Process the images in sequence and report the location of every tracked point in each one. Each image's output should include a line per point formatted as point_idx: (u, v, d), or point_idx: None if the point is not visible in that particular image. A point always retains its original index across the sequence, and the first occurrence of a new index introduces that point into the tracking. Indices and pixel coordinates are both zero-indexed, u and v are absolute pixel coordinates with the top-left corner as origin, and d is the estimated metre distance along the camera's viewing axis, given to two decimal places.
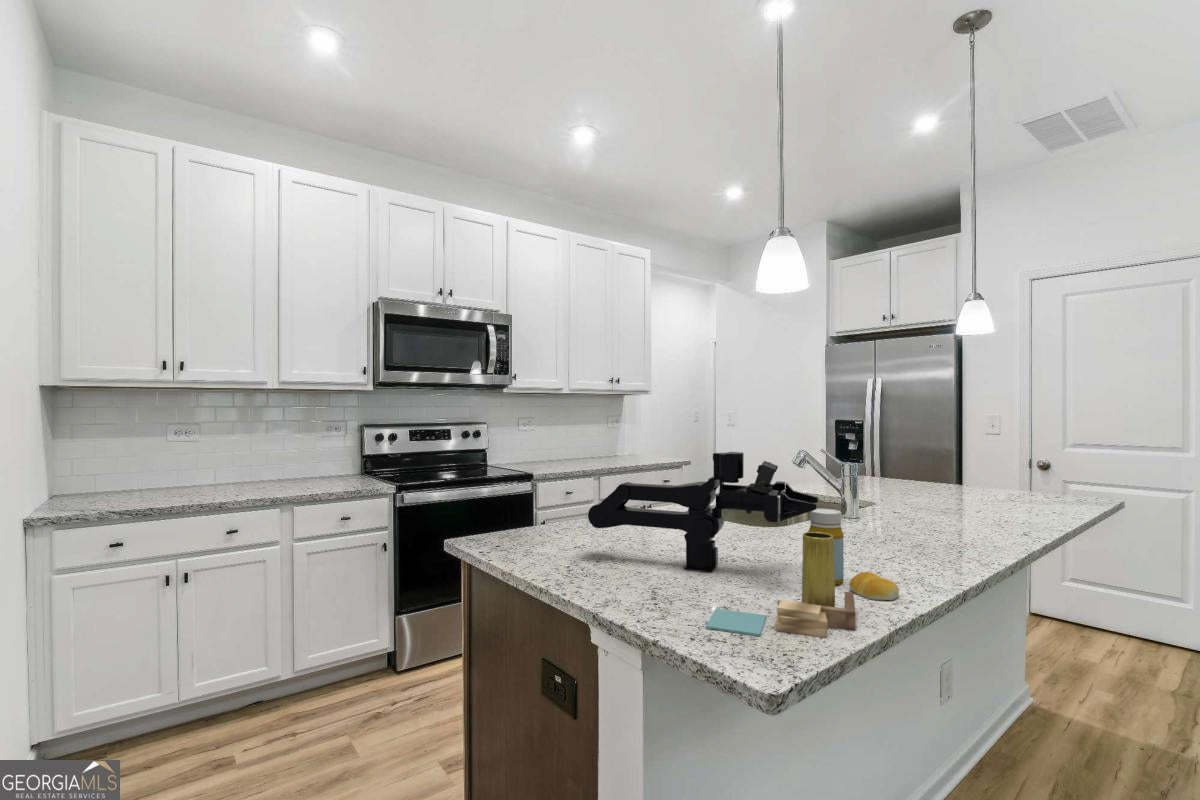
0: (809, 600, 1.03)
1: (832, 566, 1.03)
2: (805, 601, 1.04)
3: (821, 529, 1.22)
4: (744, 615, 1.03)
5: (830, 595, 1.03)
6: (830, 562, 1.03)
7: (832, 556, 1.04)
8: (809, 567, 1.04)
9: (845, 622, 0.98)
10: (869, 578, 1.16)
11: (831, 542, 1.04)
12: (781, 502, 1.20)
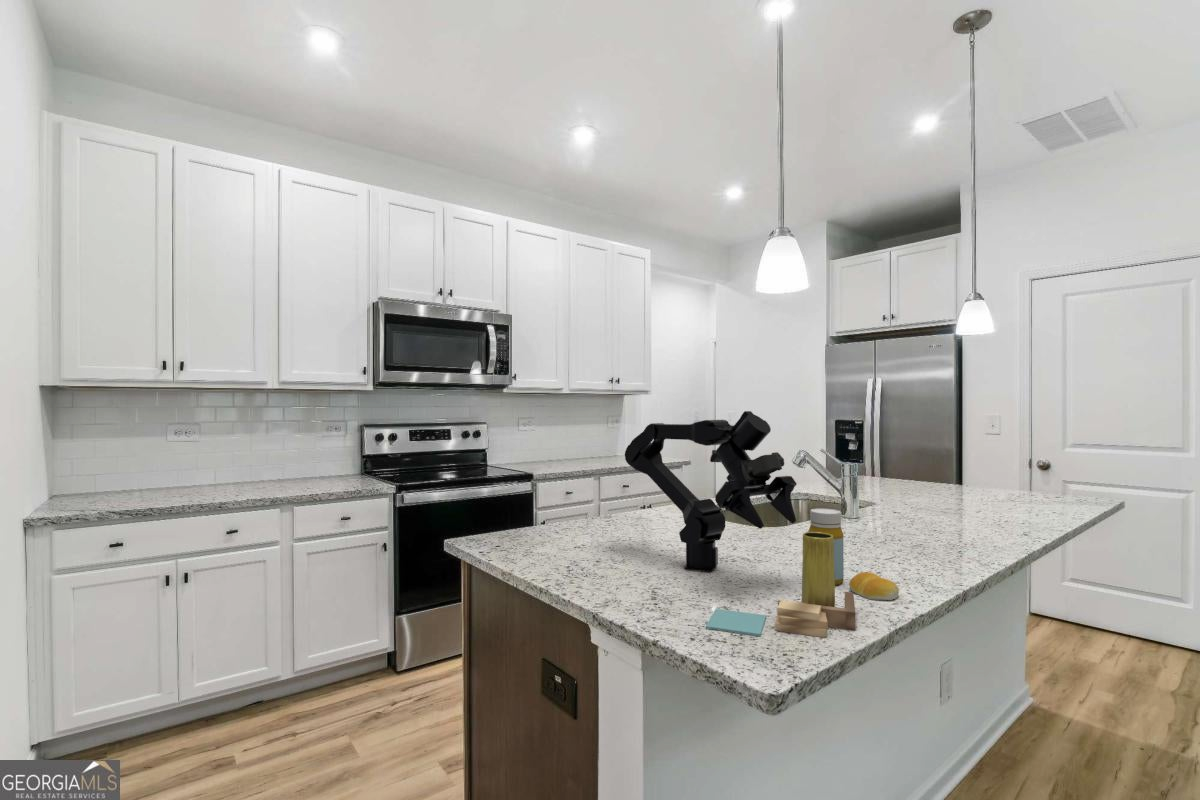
0: (809, 600, 1.03)
1: (832, 566, 1.03)
2: (805, 601, 1.04)
3: (821, 529, 1.22)
4: (744, 615, 1.03)
5: (830, 595, 1.03)
6: (830, 562, 1.03)
7: (832, 556, 1.04)
8: (809, 567, 1.04)
9: (845, 622, 0.98)
10: (869, 578, 1.16)
11: (831, 542, 1.04)
12: (734, 498, 1.15)
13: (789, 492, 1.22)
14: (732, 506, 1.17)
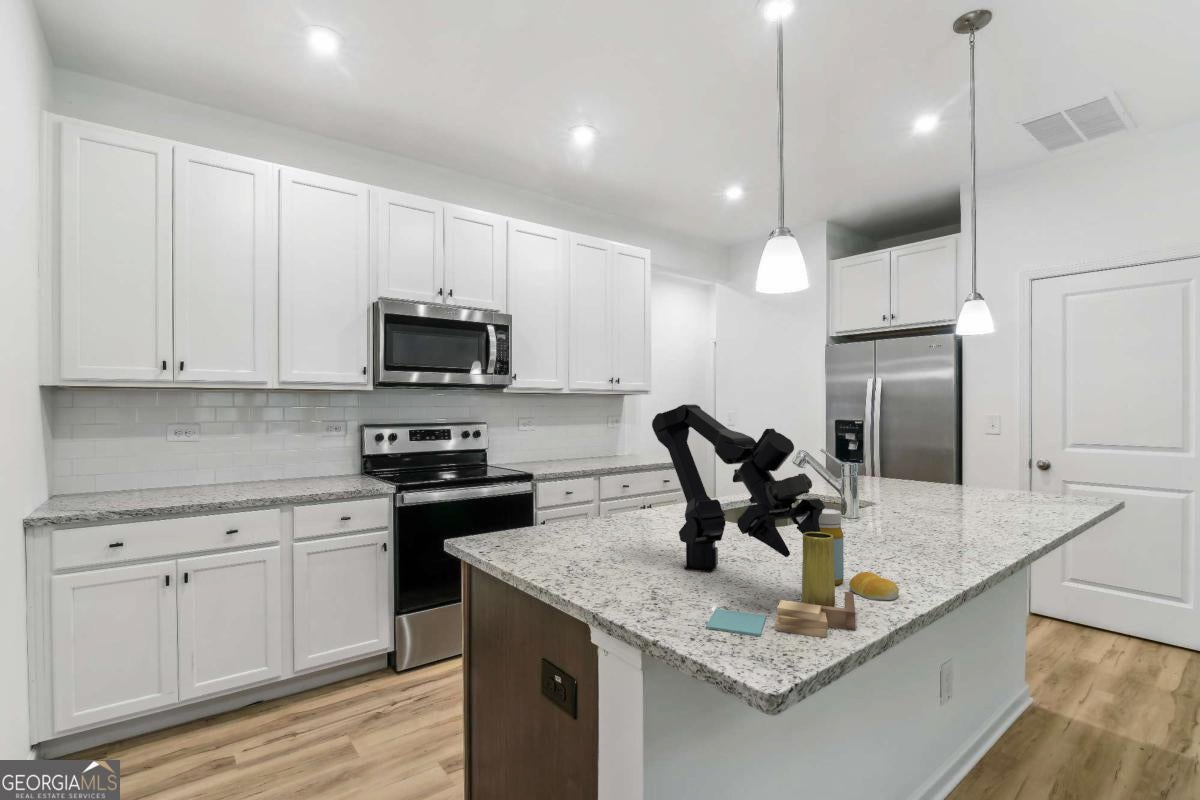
0: (809, 600, 1.03)
1: (832, 566, 1.03)
2: (805, 601, 1.04)
3: (821, 529, 1.22)
4: (744, 615, 1.03)
5: (830, 595, 1.03)
6: (830, 562, 1.03)
7: (832, 556, 1.04)
8: (809, 567, 1.04)
9: (845, 622, 0.98)
10: (869, 578, 1.16)
11: (831, 542, 1.04)
12: (758, 523, 1.07)
13: (817, 516, 1.13)
14: (756, 532, 1.09)
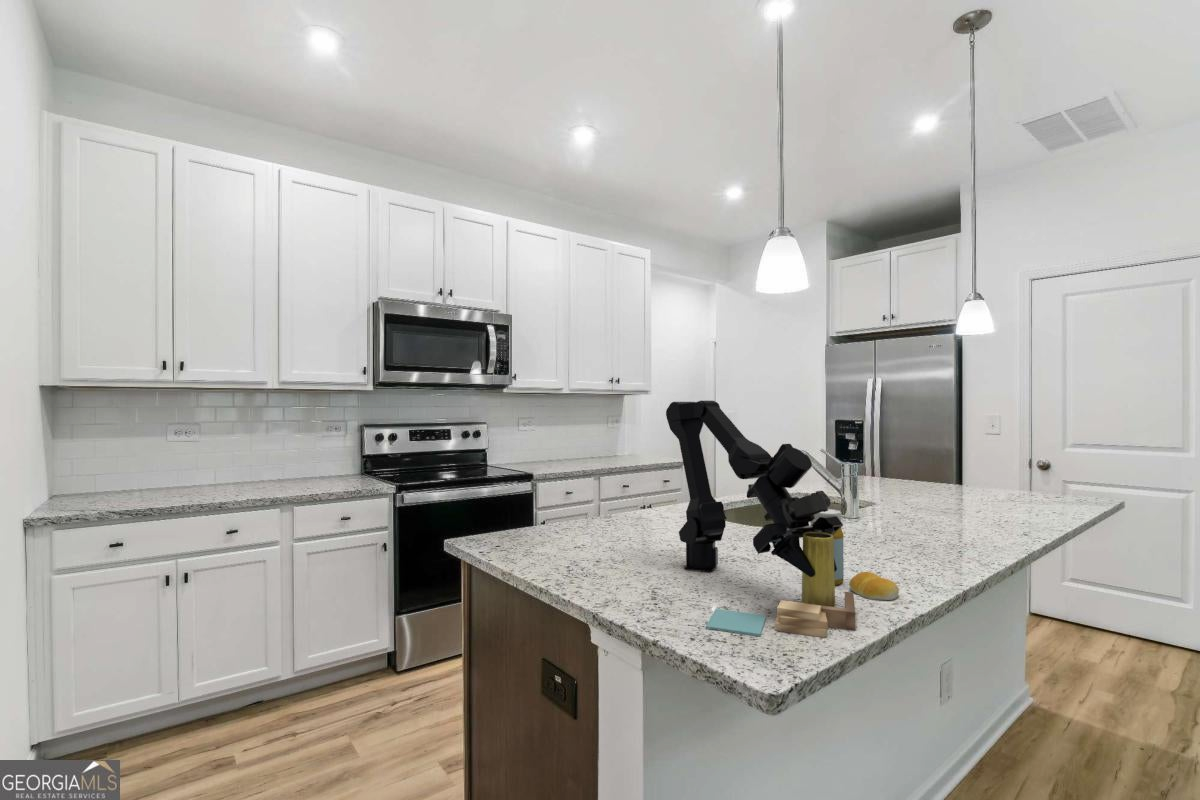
0: (809, 600, 1.03)
1: (832, 566, 1.03)
2: (805, 601, 1.04)
3: None
4: (744, 615, 1.03)
5: (830, 595, 1.03)
6: (830, 562, 1.03)
7: (832, 556, 1.04)
8: None
9: (845, 622, 0.98)
10: (869, 578, 1.16)
11: (831, 542, 1.04)
12: (781, 542, 1.04)
13: None
14: (779, 550, 1.06)
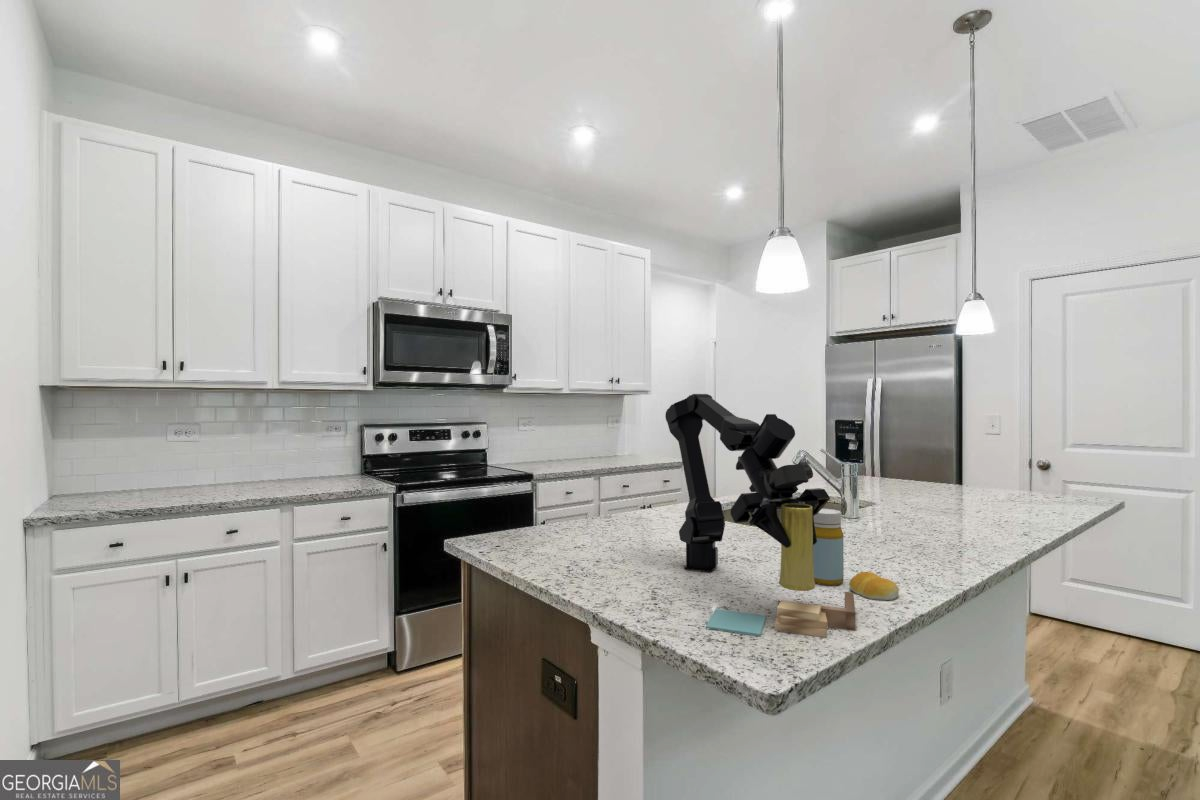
0: (785, 571, 1.02)
1: (810, 537, 1.01)
2: (782, 572, 1.03)
3: (821, 529, 1.22)
4: (744, 615, 1.03)
5: (807, 567, 1.01)
6: (808, 533, 1.01)
7: (810, 527, 1.01)
8: None
9: (845, 622, 0.98)
10: (869, 578, 1.16)
11: (809, 513, 1.01)
12: (758, 512, 1.03)
13: (812, 508, 1.06)
14: (757, 520, 1.05)
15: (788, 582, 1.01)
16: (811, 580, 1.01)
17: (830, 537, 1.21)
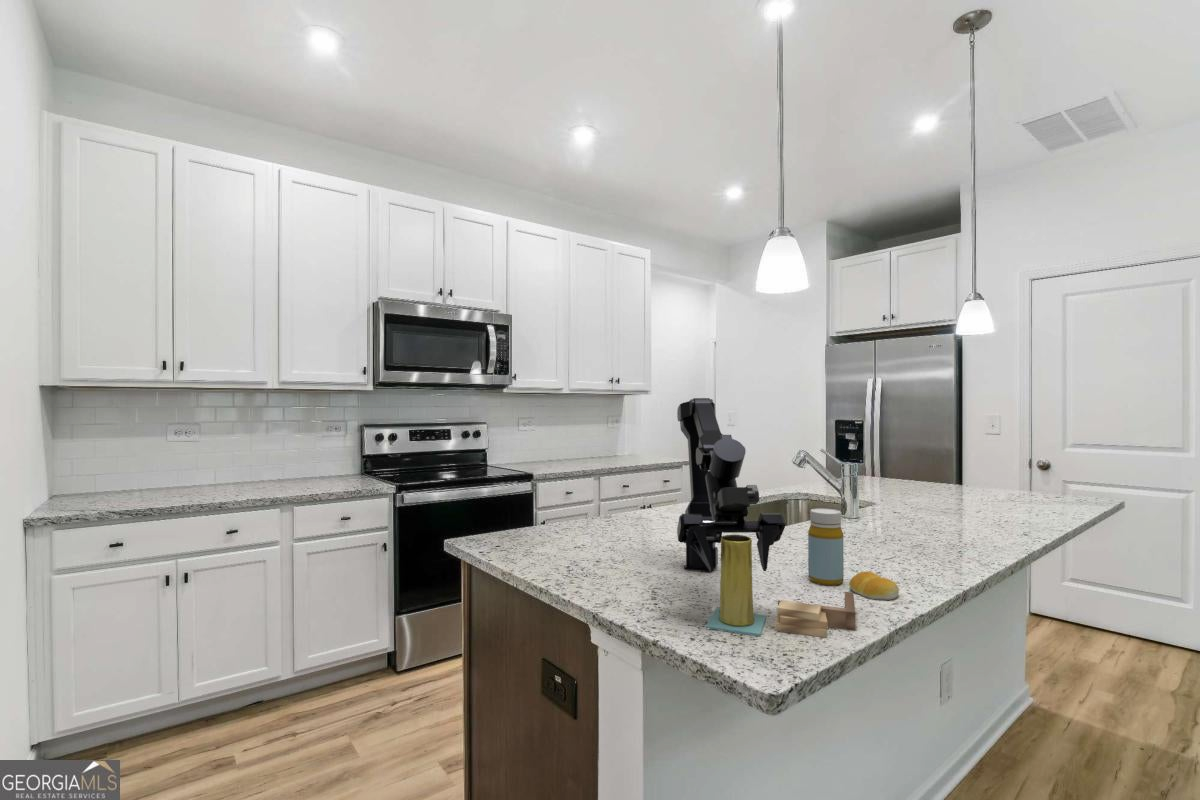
0: (721, 603, 1.00)
1: (744, 572, 0.98)
2: None
3: (821, 529, 1.22)
4: None
5: (739, 602, 0.98)
6: (741, 567, 0.98)
7: (745, 562, 0.99)
8: (721, 570, 1.01)
9: (845, 622, 0.98)
10: (869, 577, 1.16)
11: (744, 547, 0.99)
12: (687, 533, 1.03)
13: (770, 533, 1.02)
14: (691, 542, 1.05)
15: (722, 615, 1.00)
16: (745, 616, 0.98)
17: (830, 537, 1.21)
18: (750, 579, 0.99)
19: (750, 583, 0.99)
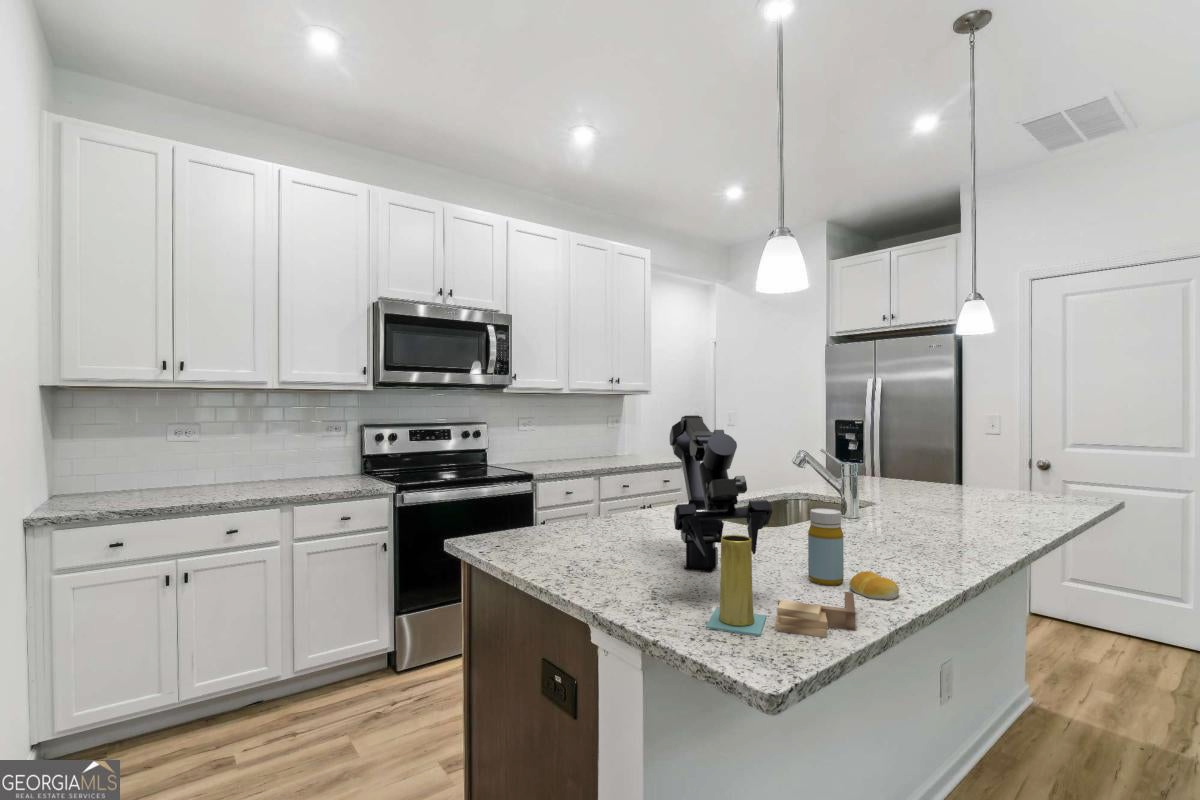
0: (721, 604, 1.01)
1: (744, 572, 0.99)
2: None
3: (821, 529, 1.22)
4: None
5: (739, 602, 0.98)
6: (741, 567, 0.99)
7: (745, 561, 0.99)
8: (721, 570, 1.01)
9: (845, 622, 0.98)
10: (869, 577, 1.16)
11: (744, 547, 0.99)
12: (683, 522, 1.13)
13: (758, 519, 1.12)
14: (687, 529, 1.15)
15: (722, 615, 1.00)
16: (745, 616, 0.98)
17: (830, 537, 1.21)
18: (750, 579, 0.99)
19: (750, 583, 0.99)
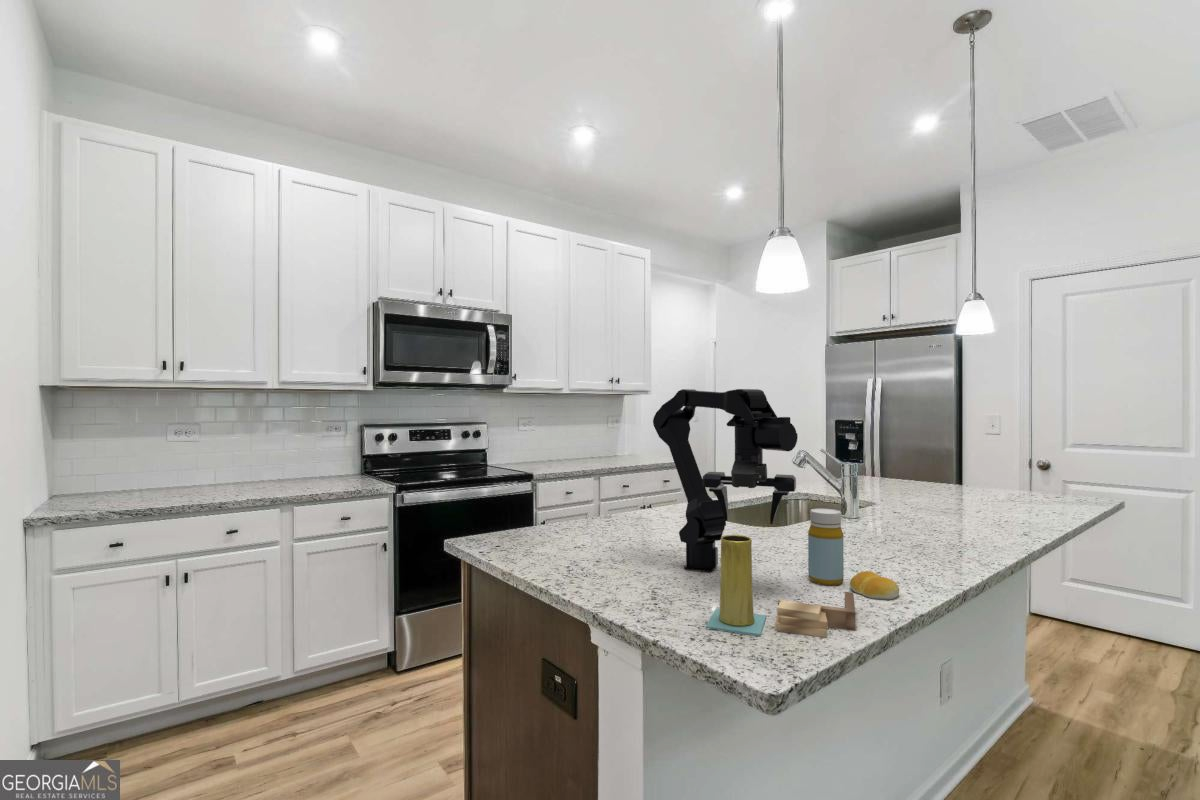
0: (721, 604, 1.00)
1: (744, 572, 0.99)
2: None
3: (821, 529, 1.22)
4: None
5: (739, 602, 0.98)
6: (741, 567, 0.98)
7: (745, 562, 0.99)
8: (721, 570, 1.01)
9: (845, 622, 0.98)
10: (869, 577, 1.16)
11: (744, 547, 0.99)
12: None
13: (778, 497, 1.18)
14: None
15: (722, 615, 1.00)
16: (745, 616, 0.98)
17: (830, 537, 1.21)
18: (750, 579, 0.99)
19: (750, 583, 0.99)
